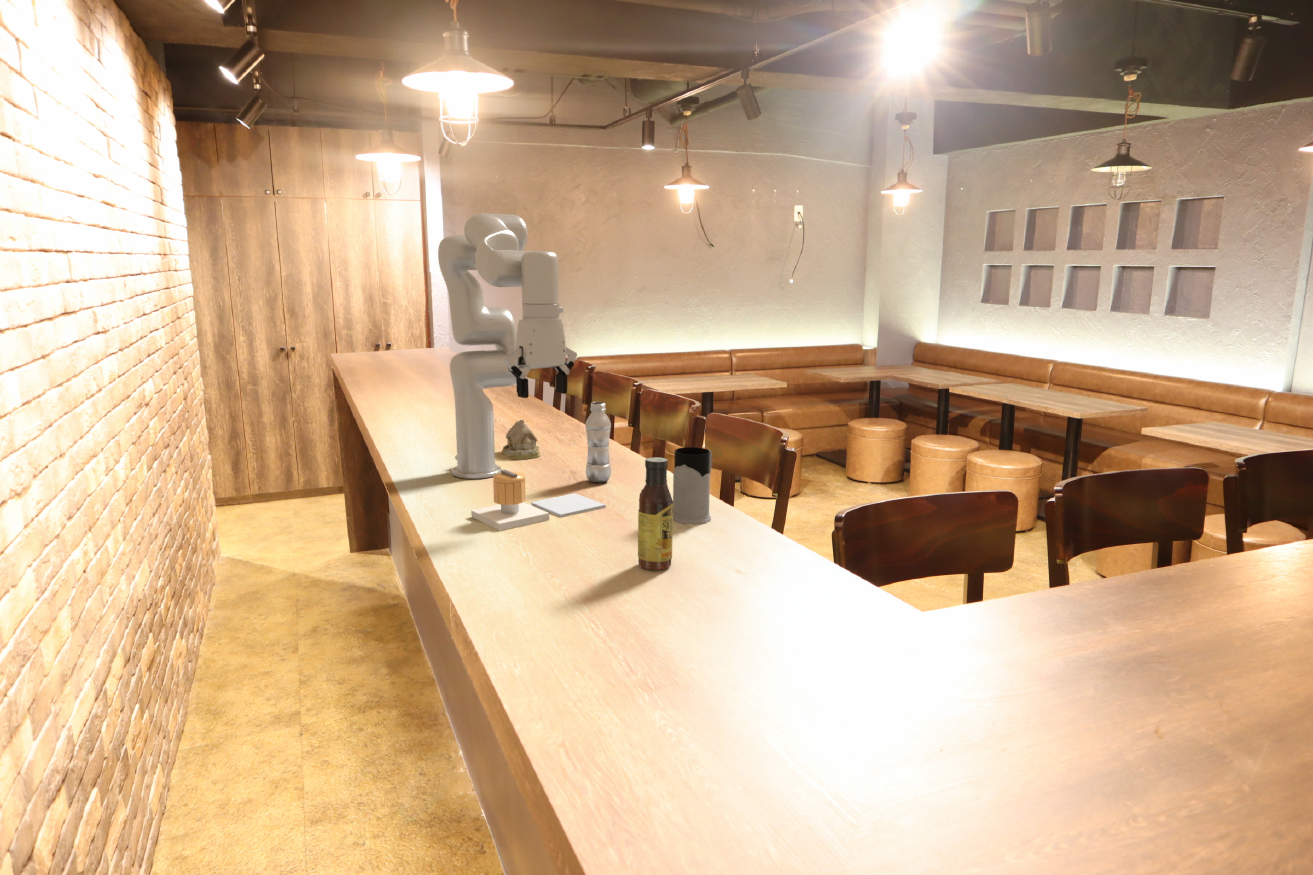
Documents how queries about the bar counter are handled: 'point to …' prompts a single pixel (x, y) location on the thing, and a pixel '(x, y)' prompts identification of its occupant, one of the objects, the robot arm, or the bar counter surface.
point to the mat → (568, 505)
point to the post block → (510, 515)
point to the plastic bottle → (598, 444)
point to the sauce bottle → (655, 518)
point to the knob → (509, 487)
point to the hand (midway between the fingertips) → (542, 395)
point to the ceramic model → (521, 442)
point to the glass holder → (691, 485)
